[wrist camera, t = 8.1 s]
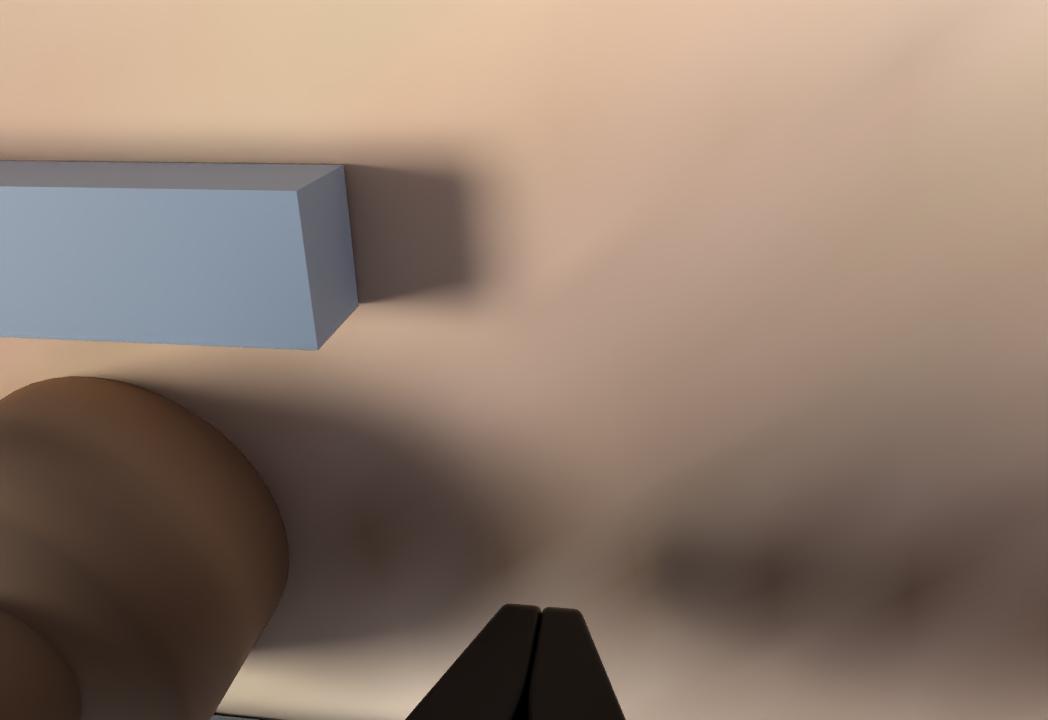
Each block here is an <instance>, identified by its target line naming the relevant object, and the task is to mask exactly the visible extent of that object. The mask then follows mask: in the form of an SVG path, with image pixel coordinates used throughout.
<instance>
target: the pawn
mask: <svg viewBox="0 0 1048 720" xmlns="http://www.w3.org/2000/svg"><path fill="white" fill-rule="evenodd" d="M288 567H289V555H288V543H287V537H286V532H285V527H284V524H283V521H282V519H281V516H280V513H279V510H278V507H277V505H276V503H275V501H274V499H273V497H272V495H271V493H270V491H269V489H268V488H267V486H266V485H265V483H264V482H263V480H262V479H261V477H260V475H259V474H258V472H257V471H256V470H255V468H254V467H253V466H252V465H251V464H250V462H249V461H248V460H247V459H246V457H245V456H244V455H243V454H242V453H241V452H240V451H239V450H238V449H237V448H236V447H235V446H234V445H233V444H232V443H231V442H230V441H229V440H228V439H227V438H226V437H225V436H224V435H223V434H221V433H220V432H219V431H218V430H216V429H215V428H214V427H213V426H211V425H210V424H209V423H208V422H206V421H205V420H204V419H202V418H200V417H199V416H197V415H196V414H194V413H193V412H191V411H190V410H188V409H187V408H185V407H183V406H181V405H179V404H177V403H175V402H174V401H172V400H170V399H168V398H166V397H164V396H162V395H159V394H156V393H154V392H151V391H149V390H146V389H144V388H141V387H138V386H134V385H131V384H127V383H123V382H120V381H115V380H109V379H102V378H96V377H63V378H53V379H48V380H44V381H40V382H36V383H32V384H30V385H28V386H25V387H23V388H21V389H18V390H16V391H14V392H13V393H11V394H9V395H8V396H6V397H5V398H3V399H1V400H0V720H210V719H211V717H212V716H213V714H214V712H215V711H216V709H217V707H218V705H219V704H220V702H221V700H222V699H223V697H224V695H225V694H226V692H227V690H228V688H229V687H230V685H231V683H232V682H233V680H234V678H235V677H236V675H237V673H238V672H239V670H240V668H241V666H242V665H243V663H244V661H245V660H246V658H247V656H248V655H249V653H250V651H251V649H252V648H253V646H254V644H255V643H256V641H257V639H258V638H259V636H260V634H261V632H262V631H263V629H264V627H265V626H266V624H267V622H268V621H269V619H270V617H271V615H272V614H273V612H274V610H275V609H276V607H277V605H278V603H279V601H280V599H281V597H282V594H283V591H284V588H285V585H286V581H287V575H288Z"/></svg>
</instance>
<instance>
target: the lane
mask: <svg viewBox="0 0 1048 720" xmlns="http://www.w3.org/2000/svg"><path fill="white" fill-rule="evenodd" d="M358 306H359V304H358V294H357V285H356V276H355V267H354V257H353V248H352V239H351V229H350V220H349V211H348V201H347V192H346V183H345V174H344V165H334V164H246V163H158V162H69V161H0V337H14V338H38V339H61V340H85V341H109V342H133V343H157V344H180V345H204V346H228V347H252V348H276V349H299V350H319V348H320V347H321V346H322V345H323V344H324V343H325V342H326V341H327V340H328V339H329V338H330V336H331V335H332V334H333V333H334V332H335V331H336V330H337V329H338V328H339V327H340V325H341V324H342V323H343V322H344V321H345V320H346V319H347V318H348V317H349V316H350V315H351V313H352V312H353V311H354V310H355V309H356V308H357V307H358ZM210 720H258V719H248V718H239V717H229V716H219V715H213V716H212V717H211V719H210Z"/></svg>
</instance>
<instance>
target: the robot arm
mask: <svg viewBox="0 0 1048 720" xmlns="http://www.w3.org/2000/svg"><path fill="white" fill-rule="evenodd" d="M405 720H626V719H625V717H624V714H623V712H622V710H621V707H620V705H619V702H618V700H617V697H616V695H615V693H614V690H613V688H612V685H611V683H610V680H609V678H608V676H607V673H606V671H605V668H604V666H603V663H602V661H601V659H600V656H599V654H598V651H597V649H596V647H595V644H594V642H593V639H592V637H591V634H590V632H589V630H588V627H587V625H586V622H585V620H584V617H583V615H582V614H581V612H580V611H578V610H577V609H569V608H557V607H547V608H545V609H544V610H543V612H542V611H541V609H540V608H539V607H538V606H533V605H520V604H506V605H504V606H502V607H501V609H500V610H499V611H498V612H497V613H496V614H495V616H494V617H493V618H492V619H491V620H490V621H489V623H488V624H487V625H486V626H485V627H484V628H483V630H482V631H481V632H480V633H479V634H478V635H477V637H476V638H475V639H474V640H473V641H472V642H471V643H470V645H469V646H468V647H467V648H466V649H465V650H464V652H463V653H462V654H461V655H460V656H459V657H458V659H457V660H456V661H455V662H454V663H453V664H452V666H451V667H450V668H449V669H448V670H447V671H446V673H445V674H444V675H443V676H442V677H441V678H440V680H439V681H438V682H437V683H436V684H435V685H434V687H433V688H432V689H431V690H430V691H429V692H428V694H427V695H426V696H425V697H424V698H423V699H422V701H421V702H420V703H419V704H418V705H417V706H416V708H415V709H414V710H413V711H412V712H411V713H410V715H409V716H408V717H407V718H406V719H405Z"/></svg>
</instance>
